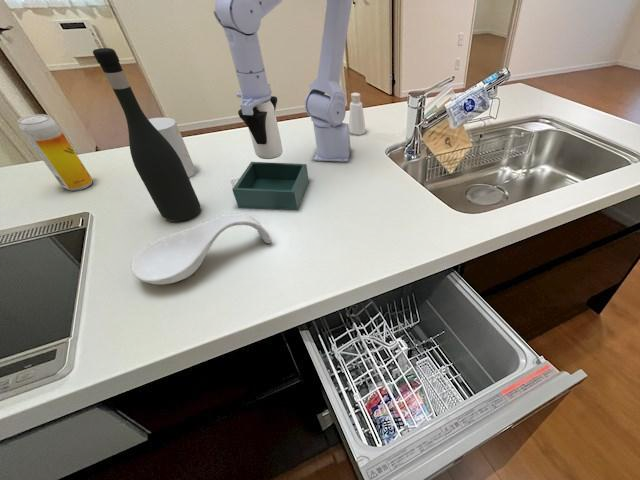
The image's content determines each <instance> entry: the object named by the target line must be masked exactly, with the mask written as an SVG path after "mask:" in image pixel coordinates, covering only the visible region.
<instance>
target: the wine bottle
mask: <svg viewBox="0 0 640 480" xmlns="http://www.w3.org/2000/svg"><path fill="white" fill-rule="evenodd" d="M92 54H93V56H94V58H95V60H96V62H97V64H99V66H100V67H101V69H102V71H103V73H104V75H105V77H106V78H107V81H108V83H109V85H110V87H111V89H112V91H113V93H114V94H115V97H116V98H117V101H118V102H119V104H120V107H121V109H122V111H123V113H124V116H125V120H126V123H127V131H128V143H129V151H130V156H131V159H132V163H133V165H134V168H135V170H136V172H137V174H138V175H139V177H140V179H141V181H142V183H143V185H144V186H145V188H146V190H147V192H148V194H149V196H150V197H151V199H152V201H153V203H154V205H155V207H156V209H157V210H158V212H159V214H160V216H161V217H162V218H163V219H165V220H167V221H171V222H183V221H187V220H189V219H192V218H194V217H195V216H197V215H198V214H199V212H200V211H201V203H200V201H199V198H198V196H197V193H196V191H195V189H194V186H193V185H192V182H191V180H190V177H189V178H188V175H187V173H186V171H185V168H184V166H183V164H182V161H181V159H180V158H179V156H178V154H177V153H176V151H175V150H174V149H173V147H172V146H171V145H170V143H169V142H168V141H167V140H166V139H165V138H164V137H163V135H162V134H161V133H160V132H159V131H158V130H157V129H156V128H155V127H154V126H153V125H152V124H151V122H150V121H149V120H148V119H149V118H148V117H147V116H146V114H145V113H144V111H143V110H142V108H141V106H140V104H139V102H138V100H137V98H136V96H135V94H134V92H133V89H132V87H131V85H130V83H129V79H128V78H127V75H126V74H125V72H124V70H123V68H122V65H121V63H120V59H119V57H118V54H117V52H116V51H115V49H113V48H110V47H102V48H96V49H93V50H92Z"/></svg>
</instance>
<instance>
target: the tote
mask: <svg viewBox="0 0 640 480" xmlns="http://www.w3.org/2000/svg"><path fill="white" fill-rule="evenodd" d="M309 182H310V177H309V173H308V167H307V163H292V162H291V163H290V162H270V161H269V162H265V161H250V162H249V164H248V165H247V167H246V169H245V170H244V172H243V173H242V174H241V176H240V177H239V178H238V181H237V182H236V183H235V184H234V186H233V187H232V193H233V196H234V200H235V202H236V204H237V208H244V209H266V210H267V209H269V210H270V209H271V210H294V211H298V210H299V207H300V206H301V202H302V199H303V197H304V195H305V193H306V190H307V187H308V185H309Z"/></svg>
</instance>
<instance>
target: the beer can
mask: <svg viewBox="0 0 640 480" xmlns="http://www.w3.org/2000/svg"><path fill="white" fill-rule="evenodd" d="M17 123H18V128H19V130H20V131H21V133H22V134H23V135H24V137H25V138H26V139H27V140H28V142H29V144H30V145H31V146H32V148H33V149H34V150H35V152H36V153H37V154H38V156H39V157H40V159H41V160H42V161H43V162H44V164H45V166H46V167H47V168H48V170H49V171H50V172H51V173H52V175H53V177H54V178H55V179H56V180H57V182H58V183H59V184H60V186H61V187H62V188H64V189H67V191H73V192H75V191H80V190H84V189H87V188H89V187H91V185H92V184H93V182H92V181H93V177H92V176H91V174H90V172H89V171H88V170H87V168H86V166H85V165H84V163H83V162H82V160H81V159H80V158H79V156H78V154H77V153H76V151H75V150H74V148H73V146H72V145H71V143H70V142H69V140H68V138H66V136H65V134H64V133H63V131H62V129H61V128H60V127H59V125H58V123H57V122H56V120H54V118H52V117H51V116H50V115H48V114H43V113H40V114H39V113H38V114H31V115H26V116H23V117H21V118H19V119H17Z"/></svg>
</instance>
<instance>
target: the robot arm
mask: <svg viewBox="0 0 640 480" xmlns="http://www.w3.org/2000/svg"><path fill="white" fill-rule="evenodd" d="M282 2H283V0H215V1H214V10H213V16H214V18H215V20H216V21H217V23H218V24H219V25H220V26H221V27H222V29H223V31H224V34H225V37H226V40H227V44H228V48H229V51H230V54H231V59H232V62H233V63H232V64H233V66H234V70H235V74H236V76H237V81H238V85H239V88H240V91H238V92H236V93H235V95H236V97H237V98H239V99H240V100H241V103H240V104H239V107H240V108H239V110H238V111H237V113H238V117H239V118H240V119H241V120H242V122H243V123H245V125H246V126H247V128H248V131H249V130H250V131H251V133H252V135H253V137H254V139H255V141H256V143H257V144H266V143H267V135H266V115H267V112H260V111H259V110H257V107H255V106H257V105H259V104H261V103H263V102H265V101H267V100H269V99H270V101H271V103H272V104H273V106H274V110H275V111H276V109H277V104H278V97H277V96H273V95H272V92H273V91H272V88H271V83H268V77H267V73H266V70H265V64H264V60H263V55H262V51H261V45H260V40H259V36H258V31H259V30H260V27H261V21H262V19H263V18H265V17H266V16H267V15H268V14H270V12H272V11H273V10H274V9H275V8H277V6H279V5H280V4H281V3H282ZM352 4H353V0H326V6H325V14H324V22H323V31H322V37H321V38H322V39H321V46H320V55H319V61H318V69H317V77H316V78H315V79H314V80H313V81H312V82H311V83H310V84H309V88H308V92H307V95H306V96H305V99H304V109H305V112H306V113H307V115H308V116H309V117H310V120H311V122H312V124H313V132H314V139H315V145H316V152H315V155H314V157H313V160H314V161H320V162H343V163H347V162H349V159H350V155H351V151H352V147H351V136H350V135H351V133H350V132H349V123H347V122H344V120H345V118H346V113H347V109H346V108H347V107H346V98H347V97H346V95H347V94H346V93H345V92H344V90H343V89H342V87H341V84H340V82H341V75H342V69H343V61H344V57H345V50H346V42H347V37H348V31H349V24H350V17H351V9H352Z"/></svg>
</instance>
